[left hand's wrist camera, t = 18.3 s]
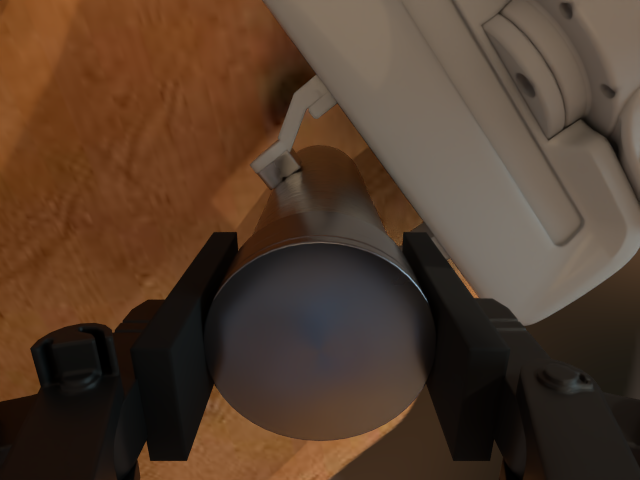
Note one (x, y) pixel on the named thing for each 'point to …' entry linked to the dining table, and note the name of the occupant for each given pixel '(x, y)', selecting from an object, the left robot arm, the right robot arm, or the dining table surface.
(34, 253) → the dining table surface
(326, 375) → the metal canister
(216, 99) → the dining table surface
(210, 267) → the left robot arm
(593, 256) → the right robot arm
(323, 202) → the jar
